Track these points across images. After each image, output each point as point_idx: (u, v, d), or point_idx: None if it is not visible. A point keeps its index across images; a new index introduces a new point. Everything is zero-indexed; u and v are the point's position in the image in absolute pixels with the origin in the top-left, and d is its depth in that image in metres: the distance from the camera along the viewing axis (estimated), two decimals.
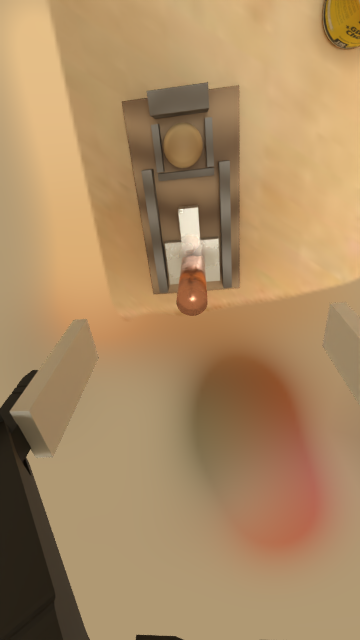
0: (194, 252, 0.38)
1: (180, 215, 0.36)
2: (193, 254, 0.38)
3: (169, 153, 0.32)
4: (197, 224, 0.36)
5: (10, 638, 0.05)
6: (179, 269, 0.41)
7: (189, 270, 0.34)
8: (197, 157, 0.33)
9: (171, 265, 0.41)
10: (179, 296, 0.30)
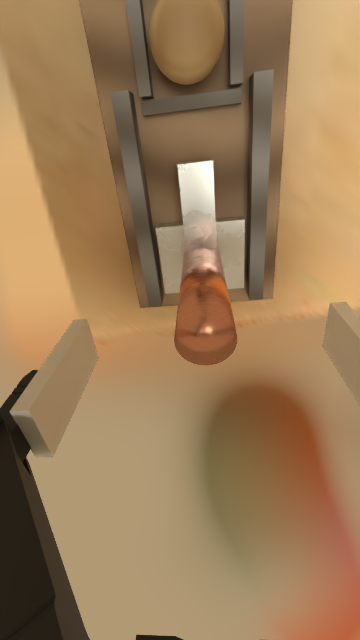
0: (205, 242, 0.23)
1: (181, 176, 0.20)
2: (203, 245, 0.23)
3: (160, 45, 0.16)
4: (211, 192, 0.21)
5: (10, 638, 0.05)
6: (179, 270, 0.26)
7: (199, 275, 0.18)
8: (214, 57, 0.17)
9: (166, 264, 0.26)
10: (180, 330, 0.15)
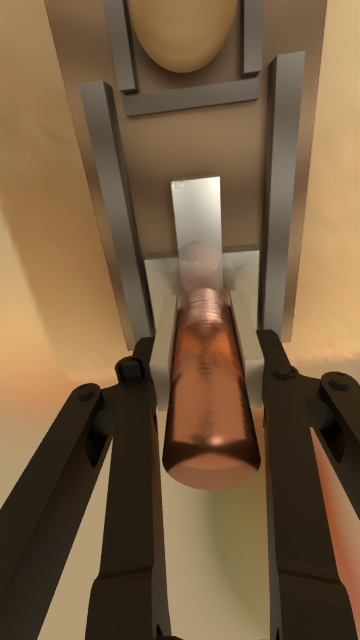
0: (208, 281, 0.17)
1: (176, 197, 0.15)
2: (205, 285, 0.17)
3: (143, 12, 0.11)
4: (216, 218, 0.15)
5: (113, 577, 0.06)
6: None
7: (200, 339, 0.13)
8: (223, 30, 0.12)
9: (159, 303, 0.20)
10: (171, 448, 0.09)
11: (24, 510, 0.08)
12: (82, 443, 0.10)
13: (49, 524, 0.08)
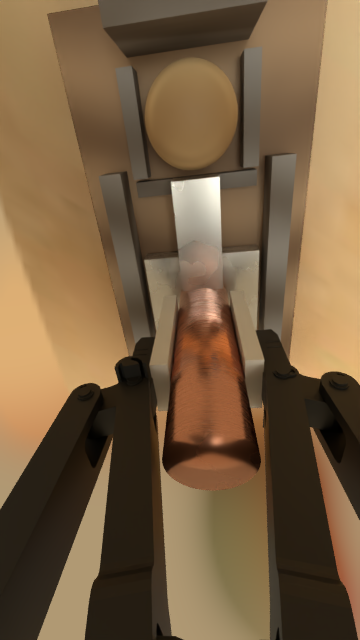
0: (208, 281, 0.17)
1: (176, 196, 0.15)
2: (205, 285, 0.17)
3: (158, 134, 0.13)
4: (216, 218, 0.15)
5: (113, 577, 0.06)
6: None
7: (200, 339, 0.13)
8: (225, 145, 0.14)
9: (159, 303, 0.20)
10: (171, 448, 0.09)
11: (24, 510, 0.08)
12: (82, 443, 0.10)
13: (49, 524, 0.08)
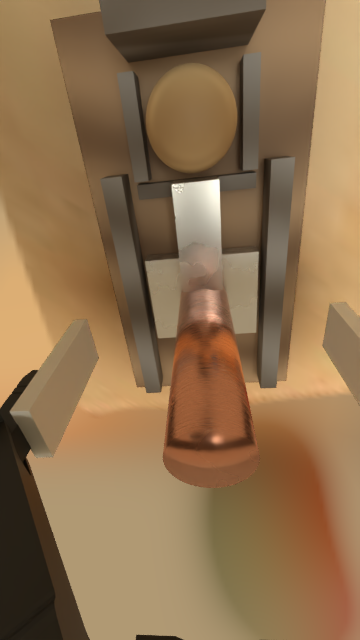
0: (208, 282, 0.17)
1: (177, 199, 0.15)
2: (205, 286, 0.18)
3: (159, 138, 0.13)
4: (216, 220, 0.16)
5: (10, 638, 0.05)
6: (175, 311, 0.21)
7: (200, 338, 0.13)
8: (225, 148, 0.14)
9: (159, 304, 0.20)
10: (171, 446, 0.10)
11: None
12: None
13: None
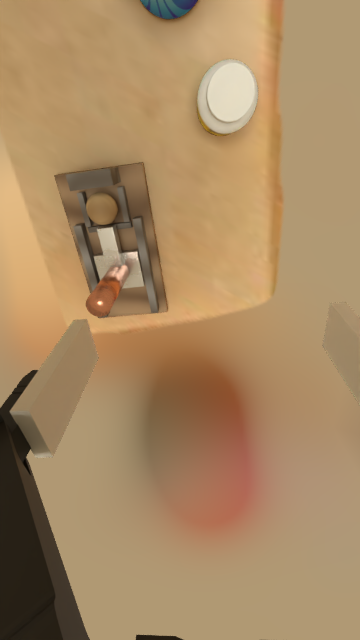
0: (115, 263, 0.46)
1: (99, 233, 0.43)
2: (115, 265, 0.46)
3: (89, 216, 0.42)
4: (114, 240, 0.44)
5: (10, 638, 0.05)
6: None
7: (103, 279, 0.41)
8: (112, 217, 0.42)
9: (101, 274, 0.49)
10: (87, 301, 0.38)
11: None
12: None
13: None
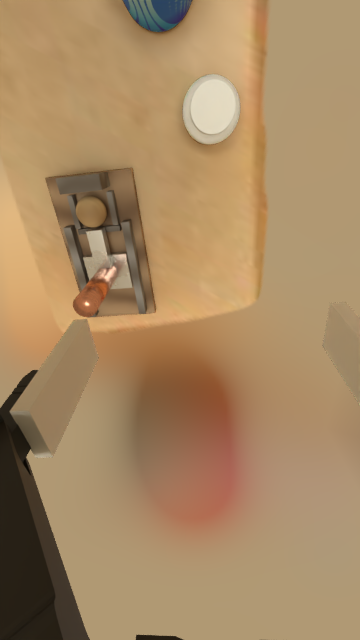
0: (104, 265, 0.47)
1: (88, 236, 0.45)
2: (103, 266, 0.47)
3: (79, 218, 0.43)
4: (103, 243, 0.45)
5: (10, 638, 0.05)
6: None
7: (91, 281, 0.43)
8: (101, 220, 0.43)
9: (91, 275, 0.50)
10: (74, 302, 0.39)
11: None
12: None
13: None
